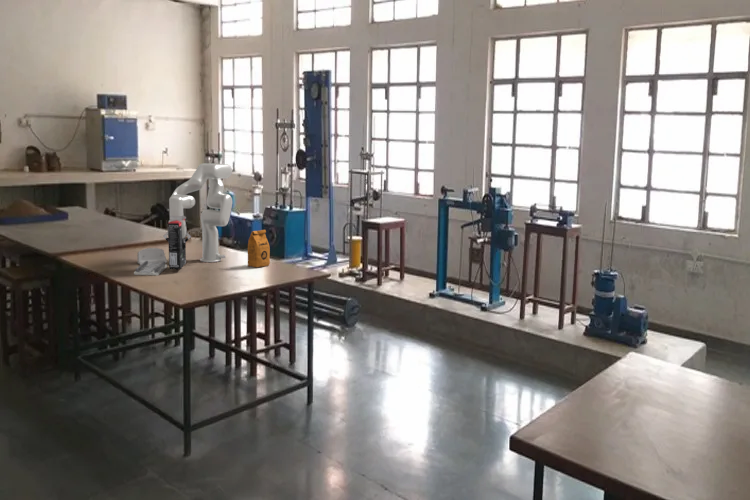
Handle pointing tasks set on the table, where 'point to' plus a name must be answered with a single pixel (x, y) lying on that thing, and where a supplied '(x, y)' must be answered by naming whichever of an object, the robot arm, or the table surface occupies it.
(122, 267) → the table surface
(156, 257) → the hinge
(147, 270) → the rail mount
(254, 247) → the coffee package
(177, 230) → the graphics card box
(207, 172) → the robot arm
